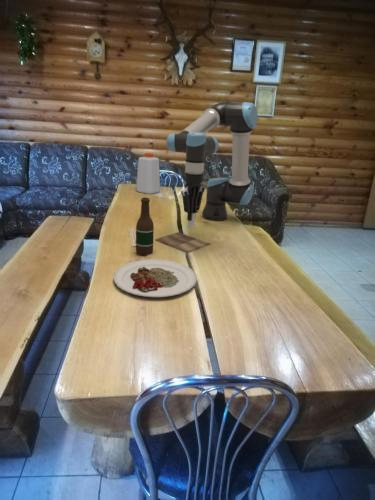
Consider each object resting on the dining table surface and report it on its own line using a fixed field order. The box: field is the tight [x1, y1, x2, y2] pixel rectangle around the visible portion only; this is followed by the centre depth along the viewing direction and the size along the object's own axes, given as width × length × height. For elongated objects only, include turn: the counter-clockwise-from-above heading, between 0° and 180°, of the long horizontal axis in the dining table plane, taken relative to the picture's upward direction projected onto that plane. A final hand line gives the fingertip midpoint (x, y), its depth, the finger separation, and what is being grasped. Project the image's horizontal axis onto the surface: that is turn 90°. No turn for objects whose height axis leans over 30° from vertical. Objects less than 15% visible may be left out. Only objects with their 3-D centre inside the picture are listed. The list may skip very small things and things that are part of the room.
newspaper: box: [128, 228, 136, 248], centre depth 164 cm, size 24×7×2 cm, turn 12°
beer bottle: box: [135, 197, 155, 257], centre depth 144 cm, size 8×8×24 cm
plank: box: [173, 238, 211, 254], centre depth 157 cm, size 16×8×1 cm, turn 139°
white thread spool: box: [135, 152, 161, 195], centre depth 254 cm, size 15×15×28 cm
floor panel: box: [154, 231, 197, 249], centre depth 164 cm, size 16×12×1 cm
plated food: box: [112, 258, 197, 298], centre depth 125 cm, size 30×30×3 cm
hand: (190, 227), depth 149 cm, fingers closed
